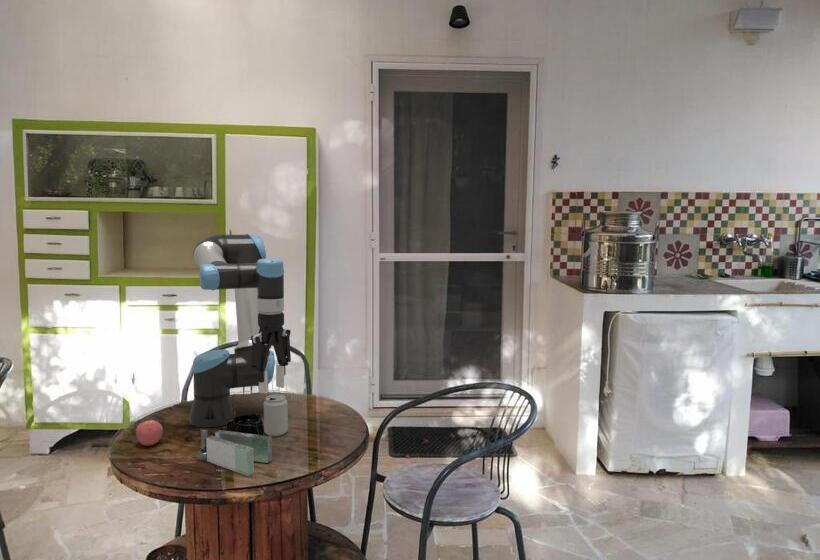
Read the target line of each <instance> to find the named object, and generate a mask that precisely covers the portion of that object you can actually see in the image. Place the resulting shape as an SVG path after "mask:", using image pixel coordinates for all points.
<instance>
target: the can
mask: <svg viewBox="0 0 820 560" xmlns="http://www.w3.org/2000/svg"><path fill="white" fill-rule="evenodd" d="M288 413H289V412H288V400H287V399H286V396H285V395H283V394H270V395H268V396H266V397H265V400H264V401H263V432H264V433H265V434H266V436H271V437H281V436H283V435H285V434H286V433H287V432H288V430H289V429H288V428H289V424H288V421H289V420H288V417H289V416H288Z"/></svg>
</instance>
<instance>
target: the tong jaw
mask: <svg viewBox="0 0 820 560" xmlns="http://www.w3.org/2000/svg"><path fill="white" fill-rule="evenodd" d="M214 436H215V437H218V438H221V439H224V440H227V441H230V442H233V443H236V444H239V445H240V444H242V445H245V446H248V447H251V448H253V456H254V462H258V463H265V464H266V463H267V464H269V463H270V462H271V461H272V460H273V457H272V453H273V452H272V451H273V450H272V447H273V446H272V444H273V443H272V436H269V435H265V434H263V435H262V434H253V433H247V432H239V431H232V430H231V431H230V430H224V429H222V430H221V429H218V430H216V431H215V432H214Z"/></svg>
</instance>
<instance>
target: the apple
mask: <svg viewBox="0 0 820 560" xmlns="http://www.w3.org/2000/svg"><path fill="white" fill-rule="evenodd" d="M163 434H164V429H163V425H162V424H161V423H160V421H157V420H154V419H151V418H149V419H148V420H145V421H142V422H141V423H139V424H138V425H137V426H136V429H135V436H136V438H137V441H138V442H139V443H140V444H141V445H143V446H145V447H146V446H147V447H149V446H154V445H155V444H157V443H158V442H159V441H160V440H161V438H162V436H163Z"/></svg>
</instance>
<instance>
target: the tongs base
mask: <svg viewBox="0 0 820 560" xmlns="http://www.w3.org/2000/svg"><path fill="white" fill-rule="evenodd" d="M196 454H197V461H200V462H208V463H211V464H213V465H215V466H216V465H217V466H218V467H221V468H224V469H227V470H230V471H233V472H235V473H236V474H240V475H242V476H246V477H249V476H251V475H253V474H255V472H254V471H255V470H254V469H255V467H254V466H255V465H254V462H255V461H254V456H253V448H251V447H248V446H245V445H242V444H240V445H239V444H236V443H233V442H230V441H227V440H224V439H221V438H218V437H215V435H210V436H209V435H208V428H202V429H200V449H199V450H198V451H197V452H196Z"/></svg>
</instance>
